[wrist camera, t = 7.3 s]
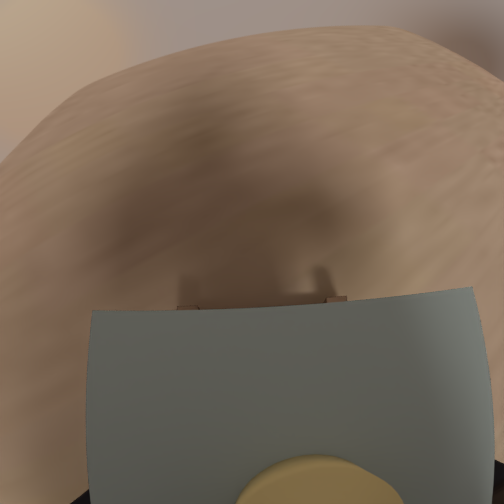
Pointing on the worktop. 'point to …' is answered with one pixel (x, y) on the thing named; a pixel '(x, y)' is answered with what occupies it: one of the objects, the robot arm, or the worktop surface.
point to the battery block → (292, 404)
